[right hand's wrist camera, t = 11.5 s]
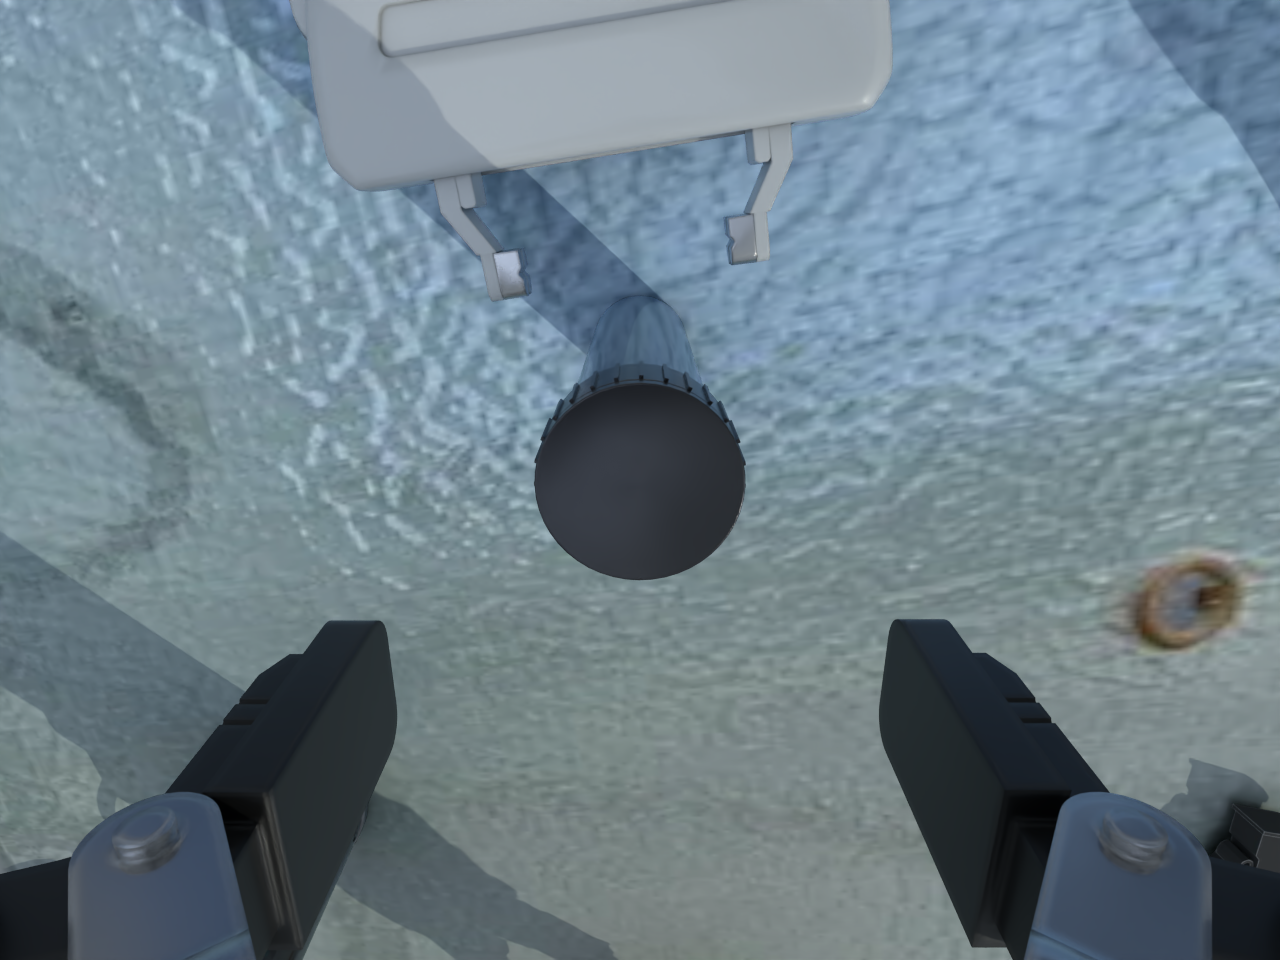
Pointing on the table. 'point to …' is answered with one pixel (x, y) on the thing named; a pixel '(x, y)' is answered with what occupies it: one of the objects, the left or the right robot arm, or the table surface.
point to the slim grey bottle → (640, 338)
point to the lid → (639, 472)
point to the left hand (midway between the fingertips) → (629, 280)
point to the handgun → (1252, 839)
